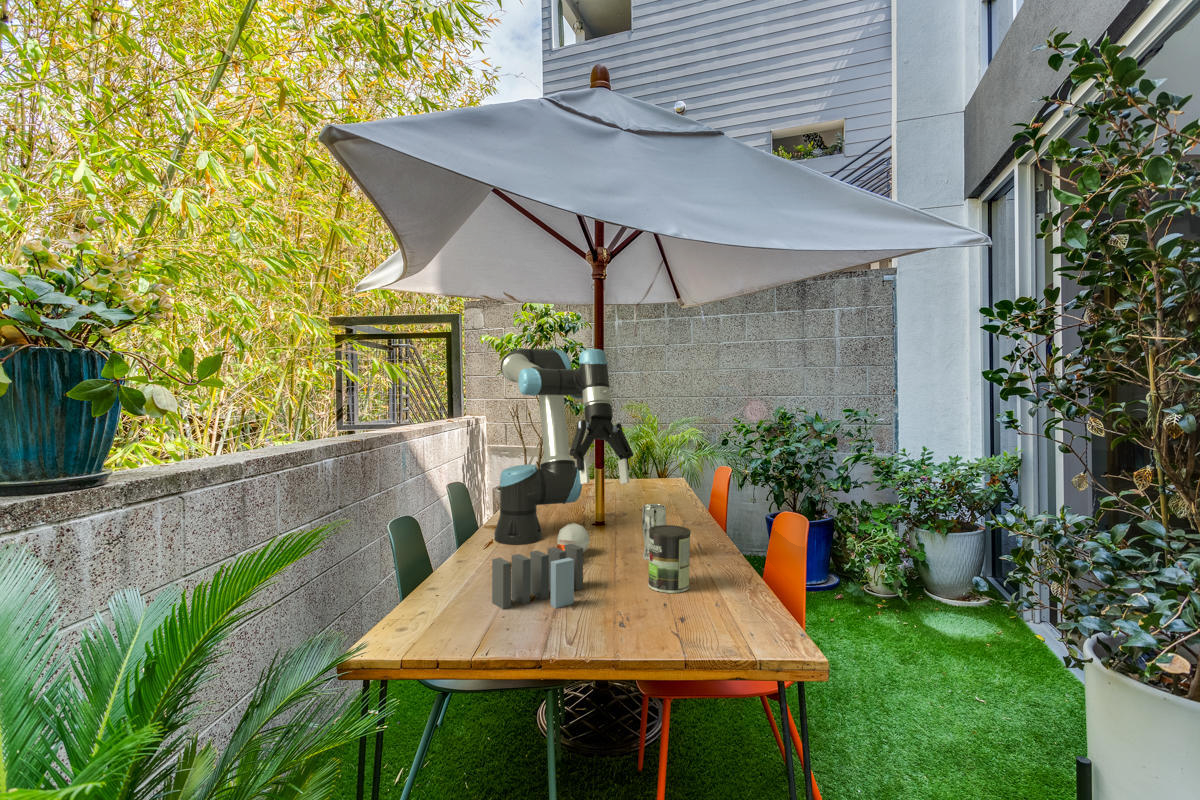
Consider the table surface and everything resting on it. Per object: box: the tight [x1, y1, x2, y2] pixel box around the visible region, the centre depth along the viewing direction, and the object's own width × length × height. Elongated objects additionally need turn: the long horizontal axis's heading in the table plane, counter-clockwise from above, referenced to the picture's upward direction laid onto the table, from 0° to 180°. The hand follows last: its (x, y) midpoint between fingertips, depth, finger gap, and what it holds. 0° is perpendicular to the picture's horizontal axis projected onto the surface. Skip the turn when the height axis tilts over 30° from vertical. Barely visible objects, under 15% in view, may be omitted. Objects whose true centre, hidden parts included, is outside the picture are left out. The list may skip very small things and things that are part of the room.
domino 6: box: [565, 544, 584, 591], centre depth 145 cm, size 2×5×10 cm, turn 39°
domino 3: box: [529, 549, 550, 600], centre depth 139 cm, size 2×5×10 cm, turn 39°
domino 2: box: [511, 553, 531, 605], centre depth 136 cm, size 2×5×10 cm, turn 39°
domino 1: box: [491, 557, 512, 610], centre depth 133 cm, size 2×5×10 cm, turn 39°
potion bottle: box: [556, 522, 590, 553], centre depth 170 cm, size 9×10×15 cm
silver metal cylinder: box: [641, 503, 667, 561], centre depth 171 cm, size 7×7×15 cm
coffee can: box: [647, 524, 692, 594], centre depth 146 cm, size 10×10×14 cm
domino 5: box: [550, 558, 575, 609], centre depth 134 cm, size 2×5×10 cm, turn 129°
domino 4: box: [547, 546, 566, 592], centre depth 142 cm, size 2×5×10 cm, turn 39°
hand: (605, 483), depth 155 cm, fingers open, 13 cm apart
